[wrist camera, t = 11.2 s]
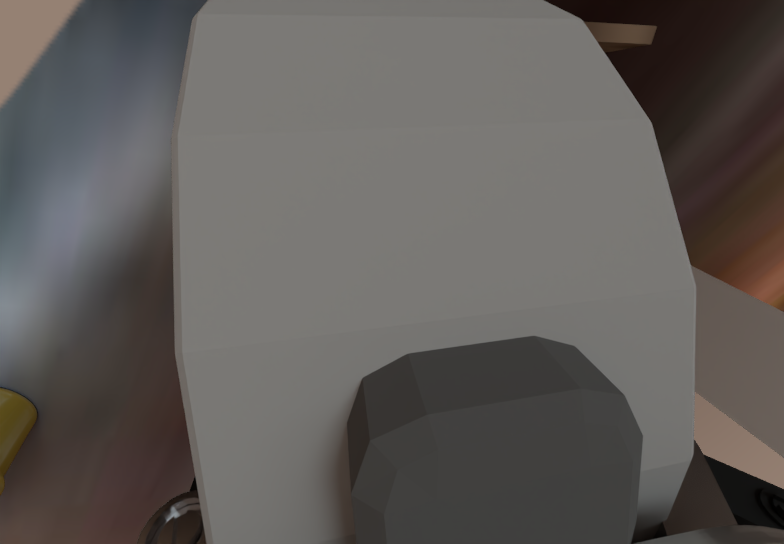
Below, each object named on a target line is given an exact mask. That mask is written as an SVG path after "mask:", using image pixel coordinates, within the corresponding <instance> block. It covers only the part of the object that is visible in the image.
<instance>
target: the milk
mask: <svg viewBox="0 0 784 544" xmlns="http://www.w3.org/2000/svg"><path fill="white" fill-rule="evenodd" d="M691 269H692V273H693V276H694V280H695V283H696V336H695V392H696V393H698V394H699V395H700V396H702V397H703V398H704V399H706V400H707V401H708V402H710V403H711V404H712V405H714V406H715V407H716V408H718V409H719V410H720V411H722V412H723V413H724V414H726V415H727V416H728V417H730V418H731V419H732V420H734V421H735V422H737V423H738V424H739V425H741V426H742V427H743V428H744V429H746V430H747V431H749V432H750V433H751V434H753V435H754V436H755V437H757V438H758V439H759V440H761V441H762V442H763V443H765V444H766V445H767V446H769V447H770V448H771V449H773V450H774V451H775V452H777V453H778V454H779V455H781V456H782V457H783V458H784V312H782V311H780V310H778V309H776V308H774V307H772V306H770V305H768V304H766V303H764V302H762V301H760V300H758V299H756V298H754V297H752V296H750V295H748V294H746V293H744V292H742V291H740V290H738V289H736V288H734V287H732V286H730V285H728V284H726V283H724V282H722V281H720V280H718V279H716V278H714V277H712V276H710V275H708V274H706V273H704V272H702V271H700V270H698V269H696V268H694V267H692V266H691Z"/></svg>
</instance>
